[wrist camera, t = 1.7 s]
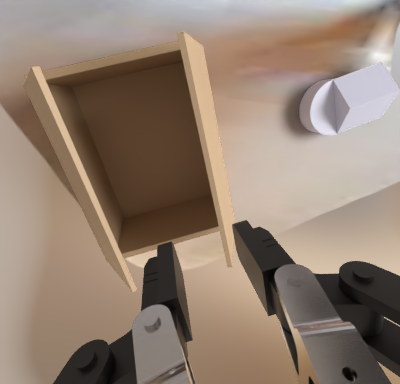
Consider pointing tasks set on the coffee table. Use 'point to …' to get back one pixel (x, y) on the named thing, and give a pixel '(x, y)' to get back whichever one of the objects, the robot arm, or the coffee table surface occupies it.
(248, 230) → the robot arm
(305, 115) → the wedge on round base
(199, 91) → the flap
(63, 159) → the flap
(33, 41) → the coffee table surface
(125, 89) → the carton
